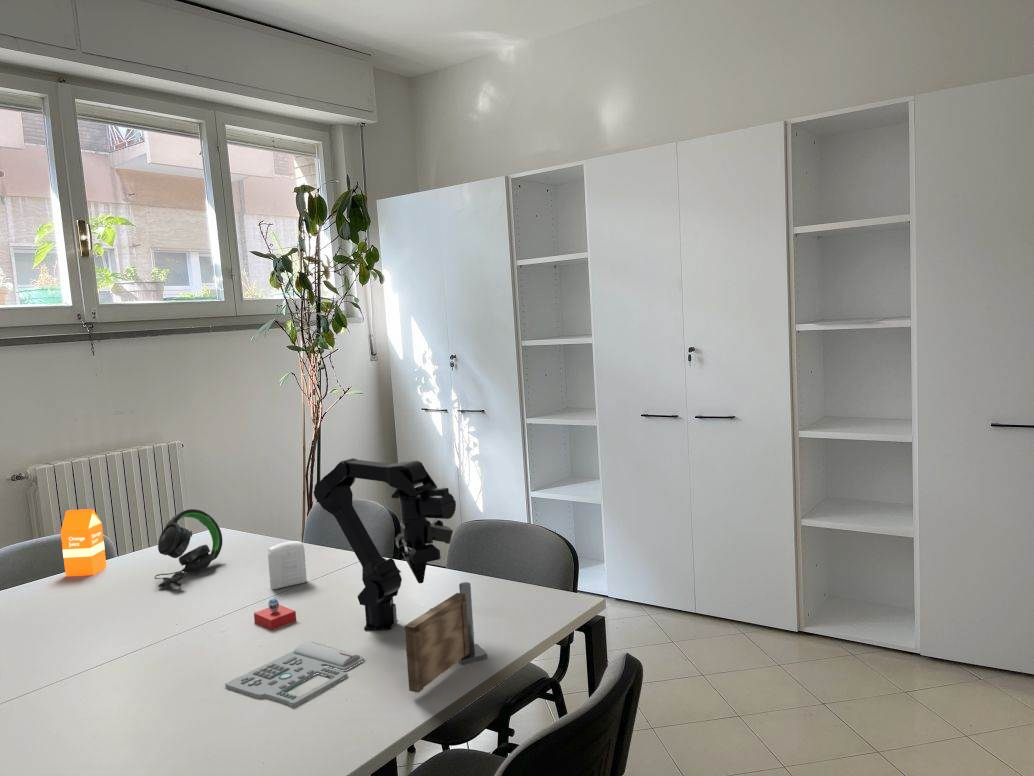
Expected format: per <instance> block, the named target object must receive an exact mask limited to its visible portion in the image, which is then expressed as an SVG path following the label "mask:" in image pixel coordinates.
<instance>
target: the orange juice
mask: <svg viewBox="0 0 1034 776" xmlns="http://www.w3.org/2000/svg"><path fill="white" fill-rule="evenodd" d="M102 523H103V522H102V521H101V519H100V518H99V516H98V514H96V511H95V510H94V509H93V508H88V509H87V508H85V509H70V510H69V509H67V510H66V511H65V515H64V518H63V523H62V525H61V529H60V536H61V537H60V538H61V539H60V540H61V548H62V556H63V564H64V573H65V577H79V576H80V577H81V576H83V577H84V576H94V575H96V574H97V573H100V572H101V571H102V570H104V569H106V568H107V560H106V559H107V558H106V551H105V541H104V533H103V524H102Z"/></svg>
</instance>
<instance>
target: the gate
mask: <svg viewBox="0 0 1034 776" xmlns="http://www.w3.org/2000/svg"><path fill="white" fill-rule="evenodd" d="M404 637H405V639H404V640H405V650H406V653H405V654H406V665H407V666H406V667H407V678H408V679H407V680H408V691H409V692H414V693H420V692H422V691H423V690H424V688H425V687H426V686H428V685H429V684H430V683H431V682H433V681H434V680H435V679H437V678H438V677H439V676H441V675H442V674H443V673H445V672H446V671H448V669H449V668H451V667H452V666H453V665H455V664H456V663H457V662H458V661H459V660H460V659H461V658H463V657H464V656H467V655H468V654H469V653H470V650H469V634H468V619H467V604H466V594H462V593H460V592H456V593H454V594H453V595H452V596H450V597H448V598H447V599H445V600H444V601H442V602H440V603H438V604H437V605H436V606H433V607H432V608H431V609H429V610H427V611H426V612H424V613H423V614H421V615H418V617H416V618H414V619H413V620H412V621H410V622H408V623H407V624H405V625H404ZM458 663H459V662H458Z"/></svg>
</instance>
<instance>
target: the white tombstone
mask: <svg viewBox="0 0 1034 776" xmlns="http://www.w3.org/2000/svg"><path fill="white" fill-rule="evenodd" d="M267 552H268V553H267V560H268V561H267V562H268V573H269V585H270V589H271V590H278V589H281V588H286V587H291V586H294V585H295V586H296V585H299V584H300V585H301V584H303V583H306V582H307V578H308V577H307V568H306V567H307V565H306V554H305V553H306V552H305V547H304V543H303V542H302V541H297V540H296V541H295V540H294V541H293V540H291V541H289V540H288V541H284V542H280V543H277V544H276V545H275V544H274V545H272V546H271V547H270V548H268V551H267Z"/></svg>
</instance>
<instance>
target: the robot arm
mask: <svg viewBox="0 0 1034 776" xmlns="http://www.w3.org/2000/svg"><path fill="white" fill-rule="evenodd" d="M356 479H361V480H363V479H364V480H367V481H368V480H369V481H374V482H383V483H386V484H387V485H388V486H390V487H391V488H394V489H396V490H395V492H393V494H391V498H392V499H399V500H398V501H399V507H400V516H401V518H400V519H401V520H400V521H399V525H400V527H401V529H402V533H398V534H397V536H396V537H395V539H394V540H395V546H396V547H397V548H398V549H399V548H400V549H401V548H402V545H403V547H404V548H405V549H404V551H402V552H401V553H402V556H403V558H404V560H405V561H406V563H407V564H408V567H409V568H410V570H411V572H412V574H413V576H414V578H415V579H416V582H417V583H418V584H424V581H425V576H426V569H427V564H428V563H429V562H433V561H434V562H435V561H437V560H441V549H439V548H438V547H436V546H435V545H434V544H433V543H434V541H435V542H441V543H445V544H451V541H452V538H453V532H454V529H452V528H451V527H449V526H446V525H444V523H443V521H442V520H449V519H451V518H452V517H454V515H455V512H456V506H457V504H456V503H457V501H456V500H455V498H454V496H453V494H452V493H451V492H450V491H449V488H448V487H442V488H438V485H437V484H436V483H435V481H434V480H433V478H432V477H431V475H430V474H429V473H428V471H427V470H426V467H425V466H424V465H423V463H422V462H421V461H418V460H411V461H404V462H397V463H389V462H388V463H387V462H379V461H372V460H371V461H369V460H362V459H357V458H348V459H345V460H342V461H340V462H339V463H337V464H336V466H335V467H334V468H333V469H332V470H331V471H329V472H328V473H327V474H326V475H325V476H324V477H322V479H320V480H318V481H317V482H316V484H315V485H314V490H313V496H314V499H315V500H316V501H317V502H318V504H319V505H320V507H321V508H322V509H323V510H325V511H326V512H328V513H329V514H331V515H333V516H334V519H335V520H336V522H337V523H338V526H339V527H340V529H341V531H342V533H343V534H344V536H345V538H346V540H347V542H348V543H349V545H350V547H351V548H352V550H353V552H354V554H355V557H356V558H357V560H358V561H359V563H360V565H361V567H362V570H361V571H362V572H361V573H362V575H361V576H362V577H361V578H362V582H363V585H364V588H363V589H362V590H361V591H360V593H358V595H357V599H358V602H359V605H361V606H364V611H365V612H364V613H365V626H364V628H363V629H364V631H368V630H369V631H370V630H371V631H375V630H376V631H378V630H381V631H383V630H385V631H386V630H391V629H392V628H393V626H394V624H395V623H396V621H397V619H398V616H397V615H398V614H397V604H396V603H394V597H397V596H398V594H399V590H400V588H401V586H402V582H403V580H402V576H401V574H400V573H401V572H402V571H401V570H400V569H399V567H398V566H397V564H396V561H395V560H394V559H393V558H392V557H391V558H389V559H386V558H384V557H383V556H382V555H381V554H380V552H379V550H378V548H377V547H376V545H375V543H374V541H373V540H372V538H371V536H370V534H369V533H368V531H367V529H366V528H365V526H364V524H363V522H362V520H361V518H360V516H359V515H358V513H357V511H356V509H355V507H354V506H353V498H354V497H353V496H354V495H353V491H352V488H351V487H352V486H353V485H354V484H355V482H356ZM428 519H434V520H433V521H432V522H431V521H429V520H428ZM441 519H442V520H441Z"/></svg>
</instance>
